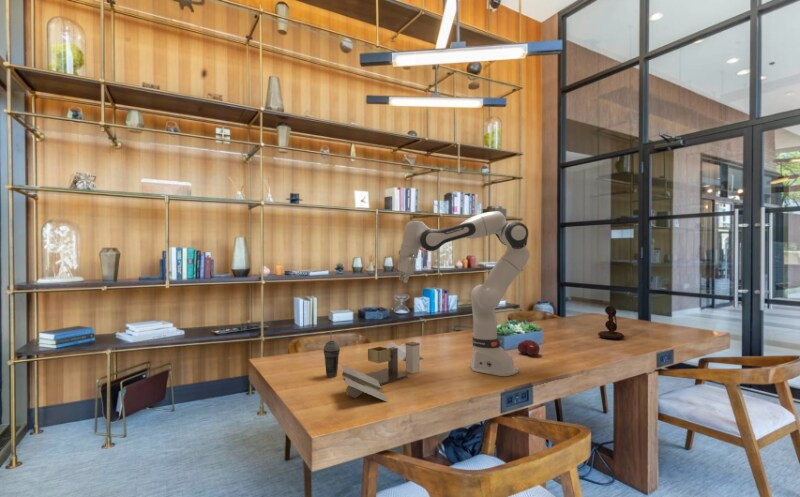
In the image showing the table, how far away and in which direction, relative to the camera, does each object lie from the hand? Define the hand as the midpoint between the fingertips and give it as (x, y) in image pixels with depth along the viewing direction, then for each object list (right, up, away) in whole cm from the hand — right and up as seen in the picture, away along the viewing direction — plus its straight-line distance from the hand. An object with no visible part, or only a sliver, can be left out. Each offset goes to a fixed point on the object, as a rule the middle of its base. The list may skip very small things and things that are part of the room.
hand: (402, 281), depth 191 cm
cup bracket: (-9, -41, -16) cm, 45 cm away
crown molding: (0, -42, +28) cm, 51 cm away
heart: (+68, -41, +22) cm, 83 cm away
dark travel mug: (-32, -41, -14) cm, 54 cm away
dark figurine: (+133, -41, +63) cm, 153 cm away
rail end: (+4, -41, -7) cm, 42 cm away
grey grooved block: (-15, -41, -38) cm, 58 cm away
